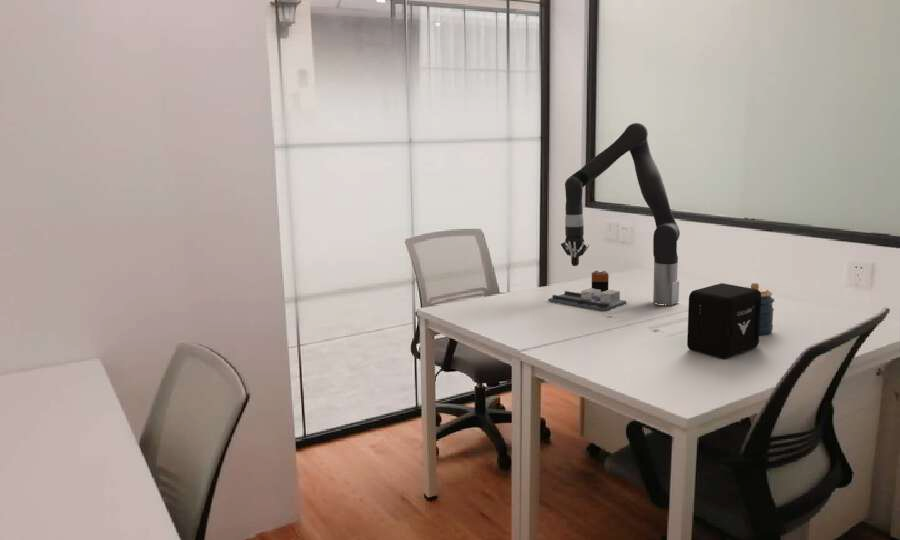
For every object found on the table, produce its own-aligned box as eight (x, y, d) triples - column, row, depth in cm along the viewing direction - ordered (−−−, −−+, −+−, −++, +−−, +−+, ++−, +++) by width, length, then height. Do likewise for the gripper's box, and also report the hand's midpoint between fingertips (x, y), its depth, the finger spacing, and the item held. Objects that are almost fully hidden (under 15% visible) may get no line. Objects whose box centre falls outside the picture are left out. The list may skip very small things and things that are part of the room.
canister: (769, 338, 248) (772, 288, 244) (729, 333, 254) (731, 284, 251) (774, 328, 258) (777, 280, 255) (736, 324, 265) (738, 277, 262)
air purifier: (725, 361, 226) (728, 299, 222) (686, 350, 237) (688, 291, 233) (762, 348, 237) (765, 289, 233) (722, 338, 249) (725, 282, 245)
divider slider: (600, 299, 302) (600, 289, 302) (587, 303, 295) (587, 294, 295) (590, 297, 306) (590, 288, 305) (577, 302, 299) (577, 292, 298)
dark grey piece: (626, 303, 300) (626, 289, 298) (605, 311, 288) (605, 296, 287) (569, 294, 319) (569, 280, 317) (548, 301, 307) (548, 287, 306)
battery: (591, 292, 322) (591, 270, 320) (606, 291, 322) (607, 269, 320) (592, 294, 318) (593, 272, 316) (608, 294, 317) (608, 271, 315)
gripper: (592, 224, 299) (593, 265, 302) (566, 223, 308) (567, 262, 311) (582, 226, 294) (583, 268, 297) (556, 225, 303) (556, 265, 306)
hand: (575, 265), depth 304 cm, fingers closed
